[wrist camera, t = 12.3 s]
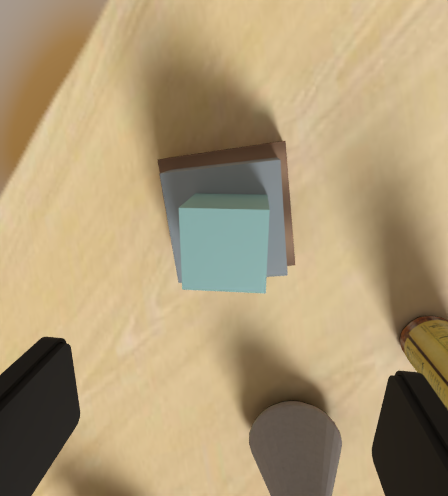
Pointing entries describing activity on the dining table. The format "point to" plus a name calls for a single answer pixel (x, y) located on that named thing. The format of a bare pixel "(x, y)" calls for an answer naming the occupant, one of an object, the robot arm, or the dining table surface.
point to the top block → (230, 182)
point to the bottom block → (238, 156)
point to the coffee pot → (296, 449)
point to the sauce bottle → (429, 351)
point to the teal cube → (224, 242)
